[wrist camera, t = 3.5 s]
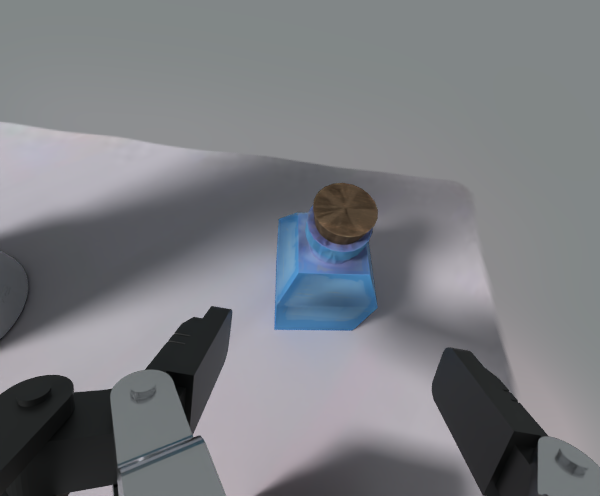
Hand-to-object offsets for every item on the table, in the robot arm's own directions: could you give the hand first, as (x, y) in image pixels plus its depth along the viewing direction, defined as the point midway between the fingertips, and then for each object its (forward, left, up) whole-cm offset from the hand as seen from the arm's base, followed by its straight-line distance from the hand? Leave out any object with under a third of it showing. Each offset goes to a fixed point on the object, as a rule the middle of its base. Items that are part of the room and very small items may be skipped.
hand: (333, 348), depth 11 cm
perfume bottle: (-1, +7, -12) cm, 14 cm away
